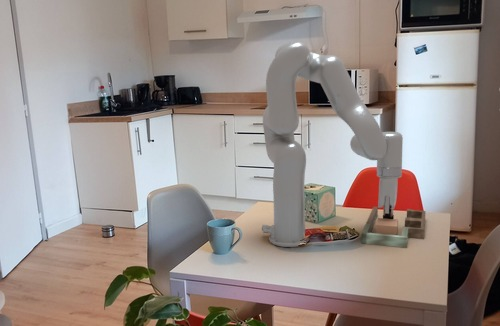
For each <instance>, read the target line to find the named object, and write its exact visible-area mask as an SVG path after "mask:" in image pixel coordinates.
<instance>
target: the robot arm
mask: <svg viewBox="0 0 500 326" xmlns="http://www.w3.org/2000/svg"><path fill="white" fill-rule="evenodd" d="M298 77H300V78H302V79H304V80H308V81H310V82H314V83H317V84H320V85H321V87H322V89H323V91H324V93H325V95H326V97H327V100H328V101H329V104H330V105H331V108H332V110H333V111H334V112H335V114H336V115H337V116H338V117H339V118H340V119H341V120H342V121H343V122H344V123H345V124H346V125H347V126H348V127H349V128H350V129H351V131H352V133H354V134H353V136H352V137H351V139H350V142H349V143H350V144H349V145H350V146H349V147H350V149H351V150H352V152H353V153H354V154H356V155H357V156H360V157H362V158H365V159H367V160H369V161H376V177H378V178H379V183H378V201H377V203H378V204H377V205H378V206H377V207H378V209H381V208H382V210H383V213H382V218H384V219H395V218H394V217H395V216H394V215H395V214H394V209H395V207H396V204H397V198H398V197H397V196H398V182H399V181H398V180H399V178H402V176H403V174H402V173H403V140H404V139H403V138H404V137H403V135H402V133H400V132H398V131H397V132H396V131H382V129H381V128H380V125H379V123H378V122H377V120H376V118H375V117H374V116H373V114H372V112H371V111H370V110H369V108H368V107H367V106H366V104H365V102H364V101H363V100H362V99H361V97H360V95H359V93H358V91H357V89H356V87H355V85H354V82H353V81H352V79H351V76H350V74H349V72H348V69H347V68H346V66H345V63H344V62H343V60H342V59H341V58H340V57H338V56H336V55H334V54H333V55H331V54H327V55H322V54H318V53H315V52H313V51H310V49H309V47H308V45H306V44H305V43H304V42H301V41H291V42H288V43H285V44H282V45H280V46H279V47H278V48H277V50H276V51H275V55H274V58H273V59H272V60H271V63H270V65H269V67H268V70H267V73H266V78H265V88H266V89H265V90H266V102H267V106H266V107H265V109H264V112H263V114H262V127H263V128H262V129H263V135H264V142H265V149H266V154H267V157H268V159H269V160H270V162H271V163H273V177H272V188H273V189H272V192H273V193H272V194H273V196H272V197H273V224H272V225H268V224H262V225H261V231H262V232H263V234H270V235H269V239H268V240H269V242H270V243H271V244H273V245H274V246H277V247H281V248H282V247H283V248H297V247H299V246H298V244H300V243H304V242H306V241H300V240H302V239H303V238H304V237H305V233H306V214H305V213H306V209H305V207H306V205H305V202H306V201H305V199H306V198H305V179H306V178H305V176H306V175H305V173H306V166H307V155H306V152H305V150H304V147H303V145H301V144H300V143H299V142H298V141H296V140H295V132H296V130H298V128H299V123H300V118H299V112H298V103H297V96H296V94H297V93H296V92H297V91H296V81H297V78H298Z"/></svg>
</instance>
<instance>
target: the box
mask: <svg viewBox="0 0 500 326" xmlns="http://www.w3.org/2000/svg"><path fill="white" fill-rule="evenodd" d="M378 210H379V208H378V206H373V207H372V209H371V212H370V214H369V216H368V218H367V221H366V222H365V224H364V227H363V229H362V232H361V234H360V235H361V237H360V238H361V239H360V243H361V244H364V245H366V244H367V245H376V246H386V247H397V248H408V242H409V238H410V239H411V238H412V239H420V240H421V239H423V240H424V238H425V226H426V225H425V224H426V210H416V209H415V210H414V209H412V208H407V209H406V217H405V218H404V226H403V227H402V232H401V235H399V234H398V235H388V234H377V233H376V232H374V233H373V232H372V230H373V229H374V225H375V223H376V220H377V219H378Z"/></svg>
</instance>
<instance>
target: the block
mask: <svg viewBox="0 0 500 326" xmlns="http://www.w3.org/2000/svg"><path fill="white" fill-rule="evenodd" d="M375 227H376V228H375V229H376V230H375V233H377V234H388V235H399V231H398V230H399V219H397V218H394V219H384V218H383V217H382V218H381V217H379V218H378V217H377V222H376V225H375Z"/></svg>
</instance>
